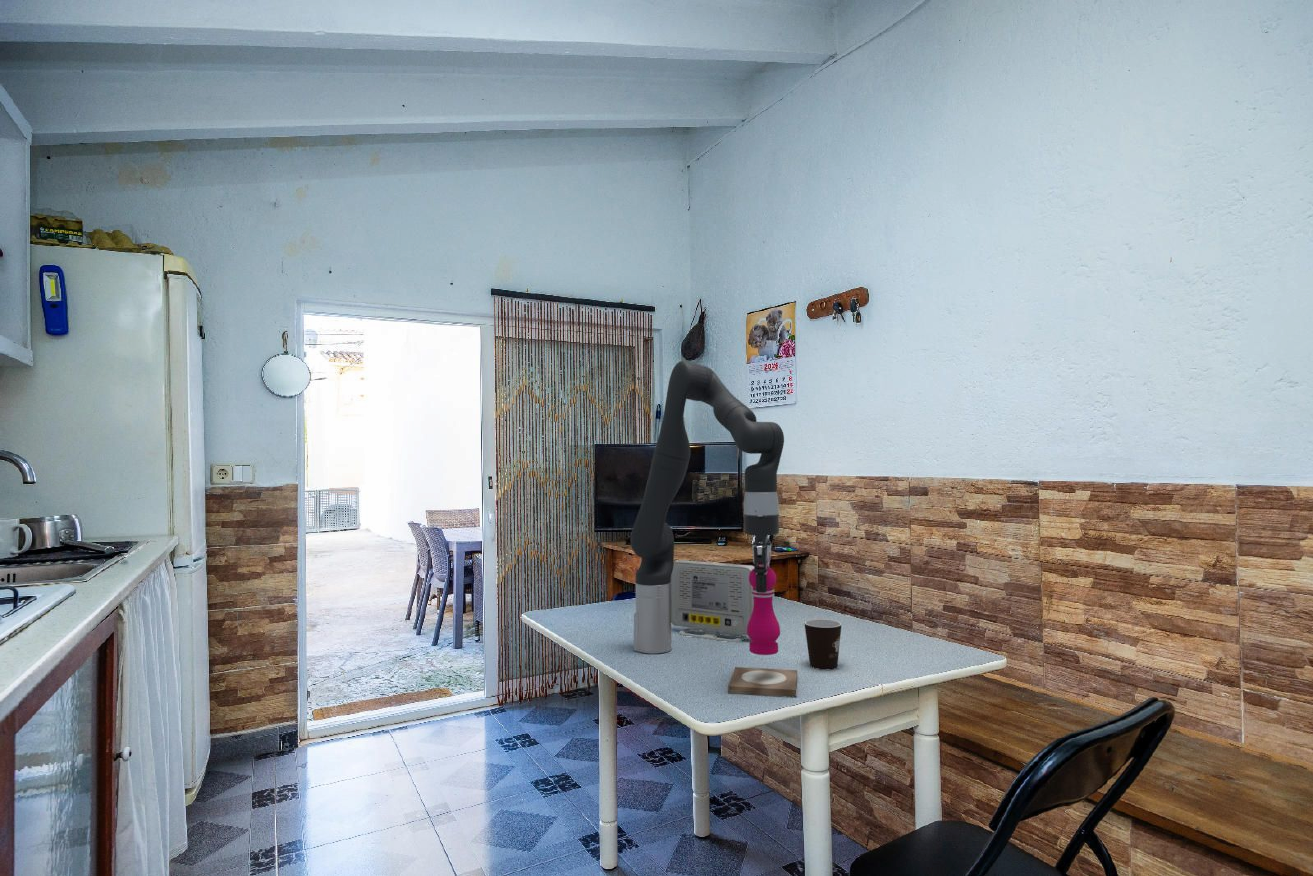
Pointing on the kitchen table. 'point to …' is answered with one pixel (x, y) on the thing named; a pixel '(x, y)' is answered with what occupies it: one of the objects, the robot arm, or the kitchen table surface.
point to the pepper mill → (763, 618)
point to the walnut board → (763, 682)
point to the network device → (711, 598)
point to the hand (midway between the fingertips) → (762, 589)
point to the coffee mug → (823, 642)
